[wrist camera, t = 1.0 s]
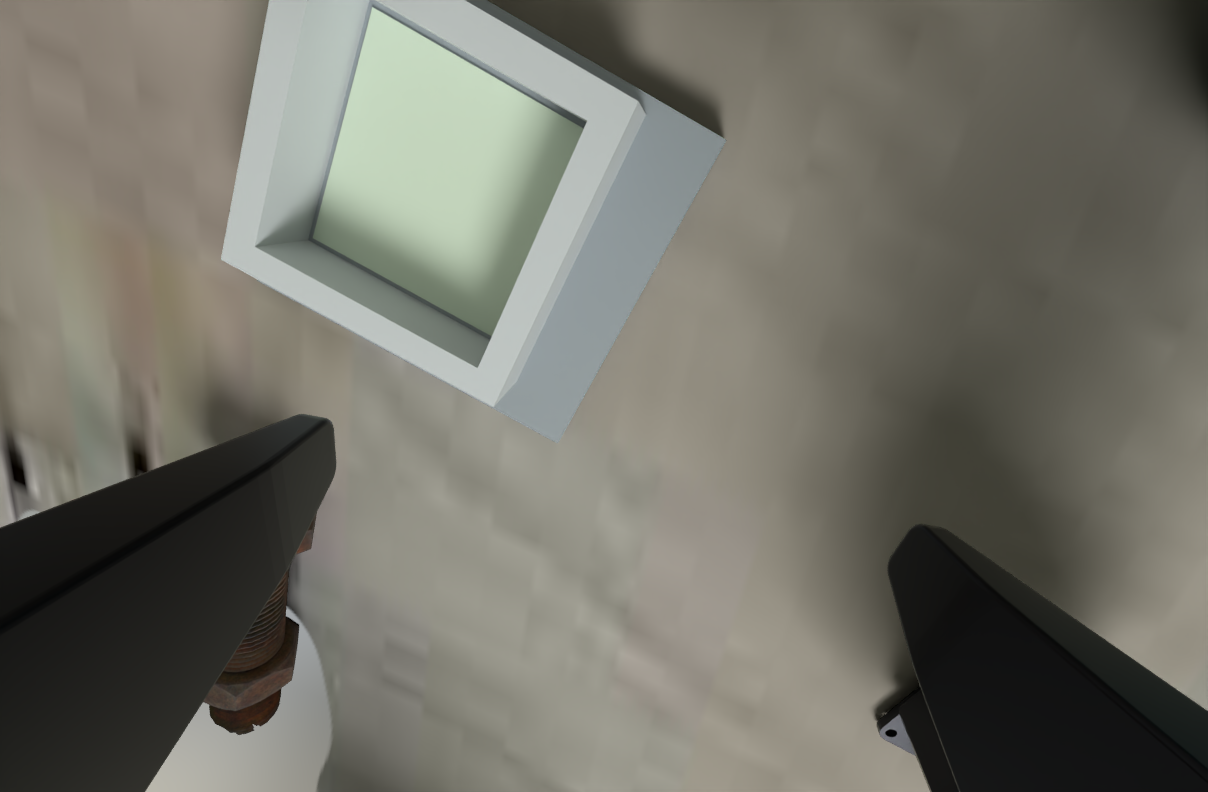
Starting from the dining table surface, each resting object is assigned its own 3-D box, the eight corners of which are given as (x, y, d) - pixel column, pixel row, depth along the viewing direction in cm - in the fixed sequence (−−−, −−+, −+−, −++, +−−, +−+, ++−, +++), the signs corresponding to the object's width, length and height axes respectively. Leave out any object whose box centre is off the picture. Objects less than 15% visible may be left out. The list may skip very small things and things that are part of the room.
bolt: (283, 646, 32) (296, 450, 25) (322, 710, 29) (347, 511, 23) (163, 706, 27) (142, 486, 21) (198, 787, 25) (186, 566, 19)
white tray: (724, 142, 16) (733, 130, 13) (563, 432, 21) (540, 475, 18) (358, -70, 16) (274, -138, 13) (276, 276, 20) (199, 292, 17)
